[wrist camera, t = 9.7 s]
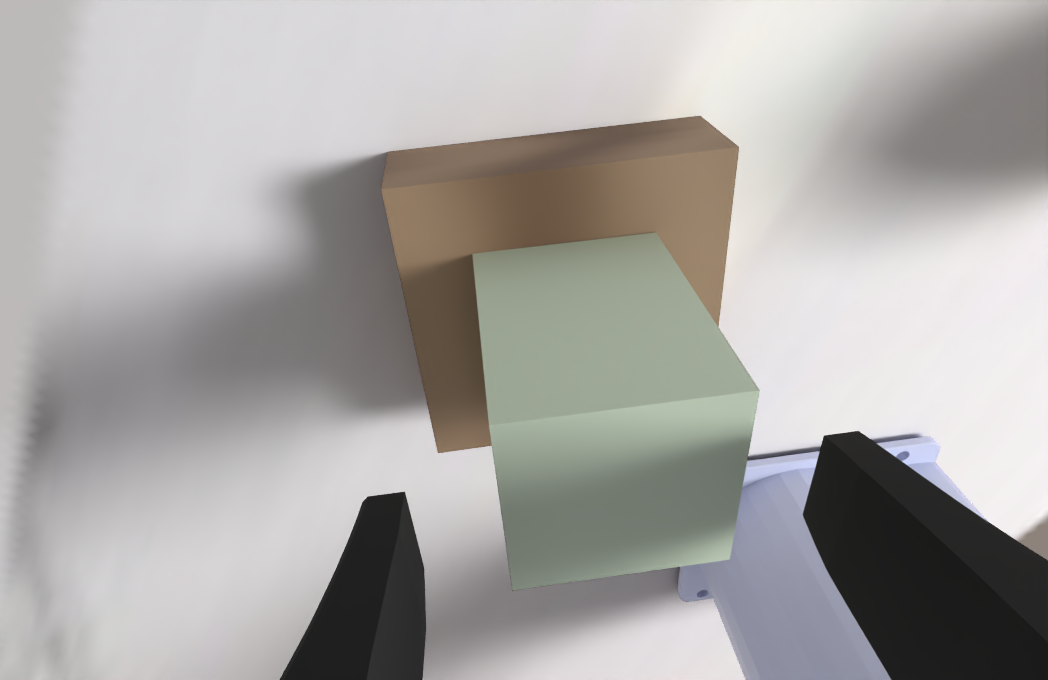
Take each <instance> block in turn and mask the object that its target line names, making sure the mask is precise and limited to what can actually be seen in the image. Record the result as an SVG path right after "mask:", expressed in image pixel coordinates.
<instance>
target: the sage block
mask: <svg viewBox="0 0 1048 680" xmlns="http://www.w3.org/2000/svg"><path fill="white" fill-rule="evenodd" d="M472 255H473V266H474V276H475V286H476V296H477V307H478V317H479V327H480V338H481V348H482V358H483V369H484V379H485V389H486V400H487V410H488V420H489V429H490V436H491V443H492V450H493V457H494V464H495V471H496V479H497V486H498V493H499V500H500V507H501V514H502V521H503V528H504V535H505V542H506V549H507V556H508V564H509V571H510V578H511V585H512V591H514V590H521V589H528V588H535V587H542V586H549V585H556V584H563V583H570V582H577V581H584V580H591V579H598V578H605V577H612V576H619V575H626V574H633V573H640V572H647V571H654V570H661V569H668V568H675V567H682V566H688V565H695V564H702V563H709V562H716V561H723V560H730V555H731V550H732V544H733V538H734V533H735V527H736V521H737V516H738V510H739V504H740V499H741V493H742V487H743V482H744V476H745V470H746V465H747V459H748V453H749V448H750V442H751V436H752V431H753V425H754V419H755V414H756V408H757V402H758V397H759V391H760V390H759V389H758V387H757V386H756V384H755V383H754V381H753V379H752V378H751V376H750V375H749V373H748V372H747V370H746V369H745V367H744V366H743V364H742V363H741V361H740V360H739V358H738V357H737V355H736V354H735V352H734V350H733V349H732V347H731V346H730V344H729V343H728V341H727V340H726V338H725V337H724V335H723V334H722V332H721V331H720V329H719V328H718V326H717V324H716V323H715V321H714V320H713V318H712V317H711V315H710V314H709V312H708V311H707V309H706V308H705V306H704V305H703V303H702V302H701V300H700V299H699V297H698V295H697V294H696V292H695V291H694V289H693V288H692V286H691V285H690V283H689V282H688V280H687V279H686V277H685V276H684V274H683V273H682V271H681V269H680V268H679V266H678V265H677V263H676V262H675V260H674V259H673V257H672V256H671V254H670V253H669V251H668V250H667V248H666V247H665V245H664V244H663V242H662V240H661V239H660V237H659V236H658V234H657V233H656V232H655V233H646V234H638V235H629V236H621V237H612V238H604V239H595V240H586V241H578V242H569V243H561V244H552V245H544V246H535V247H527V248H518V249H510V250H501V251H492V252H484V253H476V254H472Z"/></svg>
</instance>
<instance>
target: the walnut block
mask: <svg viewBox="0 0 1048 680" xmlns="http://www.w3.org/2000/svg"><path fill="white" fill-rule="evenodd" d="M738 152H739V147H738V146H737V145H736V144H735V143H733V142H732V141H731V140H730V139H728V138H727V137H726V136H725V135H723V134H722V133H721V132H720V131H718V130H717V129H716V128H715V127H713V126H712V125H711V124H710V123H708V122H707V121H706V120H705V119H703V118H702V117H701V116H695V117H686V118H677V119H669V120H660V121H651V122H643V123H634V124H625V125H617V126H608V127H599V128H591V129H582V130H573V131H564V132H556V133H547V134H538V135H530V136H521V137H512V138H504V139H495V140H486V141H478V142H469V143H460V144H452V145H443V146H434V147H425V148H417V149H408V150H399V151H391V152H387V158H386V164H385V170H384V176H383V181H382V187H381V192H382V196H383V201H384V206H385V210H386V215H387V219H388V224H389V229H390V233H391V238H392V243H393V247H394V252H395V256H396V261H397V266H398V270H399V275H400V280H401V284H402V289H403V294H404V298H405V303H406V307H407V312H408V317H409V321H410V326H411V331H412V335H413V340H414V344H415V349H416V354H417V358H418V363H419V368H420V372H421V377H422V382H423V386H424V391H425V395H426V400H427V405H428V409H429V414H430V419H431V423H432V428H433V432H434V437H435V442H436V446H437V451H438V453H443V452H450V451H457V450H464V449H471V448H478V447H485V446H492V443H491V436H490V429H489V420H488V410H487V400H486V389H485V379H484V369H483V358H482V348H481V338H480V327H479V317H478V307H477V296H476V286H475V276H474V266H473V255H472V254H476V253H484V252H492V251H501V250H510V249H518V248H527V247H535V246H544V245H552V244H561V243H569V242H578V241H586V240H595V239H604V238H612V237H621V236H629V235H638V234H646V233H655V232H656V233H657V234H658V236H659V237H660V239H661V240H662V242H663V244H664V245H665V247H666V248H667V250H668V251H669V253H670V254H671V256H672V257H673V259H674V260H675V262H676V263H677V265H678V266H679V268H680V269H681V271H682V273H683V274H684V276H685V277H686V279H687V280H688V282H689V283H690V285H691V286H692V288H693V289H694V291H695V292H696V294H697V295H698V297H699V299H700V300H701V302H702V303H703V305H704V306H705V308H706V309H707V311H708V312H709V314H710V315H711V317H712V318H713V320H714V321H715V323H716V324H717V326H718V325H719V316H720V308H721V299H722V290H723V282H724V273H725V264H726V256H727V247H728V238H729V230H730V221H731V212H732V204H733V195H734V186H735V178H736V169H737V160H738Z"/></svg>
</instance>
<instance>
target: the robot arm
mask: <svg viewBox="0 0 1048 680" xmlns="http://www.w3.org/2000/svg"><path fill="white" fill-rule="evenodd" d="M939 451H940V445H939V443H938V442H937V441H936V440H935V439H934V438H932V437H919V438H912V439H905V440H897V441H890V442H883V443H875V442H874V441H872V440H871V439H869V438H868V437H866V436H865V435H863V434H862V433H860V432H859V431H855V432H848V433H840V434H833V435H825V436H824V438H823V441H822V445H821V449H820V451H817V452H809V453H802V454H795V455H787V456H780V457H773V458H765V459H758V460H751V461H747V465H746V470H745V476H744V482H743V487H742V493H741V499H740V504H739V510H738V516H737V521H736V527H735V533H734V538H733V544H732V550H731V555H730V560H723V561H716V562H709V563H702V564H695V565H688V566H682V567H680V572H679V580H678V589H677V590H678V594H679V597H680V599H681V600H683V601H686V602H689V601H697V600H704V599H710V598H713V599H714V602H715V604H716V607H717V609H718V612H719V614H720V617H721V619H722V622H723V624H724V627H725V629H726V632H727V634H728V637H729V639H730V642H731V644H732V647H733V649H734V652H735V654H736V657H737V659H738V662H739V664H740V667H741V669H742V672H743V674H744V677H745V679H746V680H1048V561H1047V560H1046V559H1045V558H1043V557H1041V556H1040V555H1038V554H1036V553H1035V552H1033V551H1032V550H1030V549H1029V548H1027V547H1026V546H1024V545H1022V544H1021V543H1019V542H1018V541H1016V540H1015V539H1013V538H1012V537H1010V536H1009V535H1007V534H1006V533H1004V532H1003V531H1001V530H1000V529H998V528H997V527H995V526H994V525H992V524H991V523H989V522H988V521H987V520H986V519H985V518H984V516H983V515H982V514H981V513H980V512H979V511H978V510H977V509H976V507H975V506H974V505H973V504H972V503H971V502H970V501H969V500H968V498H967V497H966V496H965V495H964V494H963V493H962V492H961V491H960V489H959V488H958V487H957V486H956V485H955V484H954V483H953V482H952V480H951V479H950V478H949V477H948V476H947V475H946V474H945V473H944V471H943V470H942V469H941V468H940V467H939V466H938V465H937V464H936V463H935V461H936V458H937V456H938V454H939ZM425 635H426V611H425V579H424V566H423V562H422V558H421V554H420V550H419V546H418V542H417V538H416V534H415V530H414V526H413V522H412V518H411V514H410V511H409V507H408V503H407V499H406V495H405V492H399V493H392V494H384V495H377V496H369V497H367V498H366V499H365V500H364V501H363V502H362V505H361V508H360V511H359V514H358V517H357V519H356V522H355V524H354V527H353V530H352V532H351V535H350V537H349V540H348V542H347V545H346V547H345V549H344V552H343V554H342V556H341V559H340V561H339V563H338V565H337V568H336V570H335V572H334V575H333V577H332V579H331V581H330V583H329V585H328V587H327V589H326V591H325V593H324V596H323V598H322V600H321V602H320V604H319V606H318V608H317V610H316V612H315V614H314V616H313V618H312V620H311V622H310V624H309V626H308V628H307V630H306V632H305V634H304V636H303V638H302V640H301V641H300V643H299V645H298V647H297V649H296V651H295V653H294V654H293V656H292V658H291V660H290V662H289V664H288V665H287V667H286V669H285V671H284V673H283V675H282V677H281V678H280V680H422V677H423V663H424V649H425Z"/></svg>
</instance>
